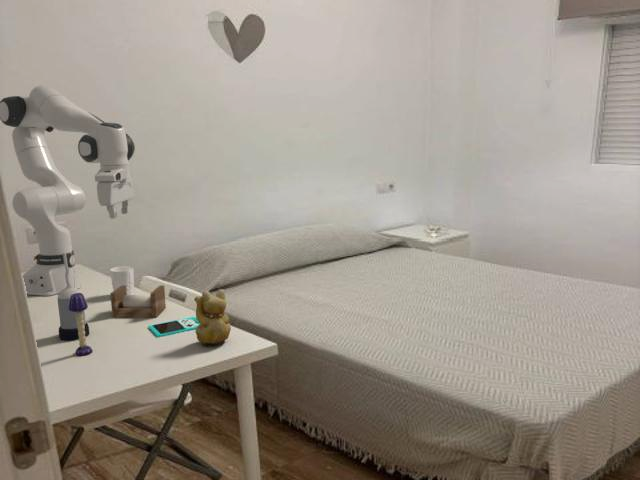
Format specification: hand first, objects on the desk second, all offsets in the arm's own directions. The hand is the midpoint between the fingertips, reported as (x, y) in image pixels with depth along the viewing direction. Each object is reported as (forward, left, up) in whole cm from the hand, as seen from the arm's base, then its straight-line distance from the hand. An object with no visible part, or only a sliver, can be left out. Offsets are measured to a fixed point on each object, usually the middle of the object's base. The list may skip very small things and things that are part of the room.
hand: (119, 215), depth 182 cm
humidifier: (-5, -27, -31) cm, 42 cm away
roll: (+7, -6, -30) cm, 32 cm away
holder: (+7, -7, -31) cm, 33 cm away
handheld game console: (+24, -20, -32) cm, 44 cm away
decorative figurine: (+38, -32, -31) cm, 59 cm away
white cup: (-6, +12, -31) cm, 34 cm away
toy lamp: (+4, -40, -31) cm, 51 cm away
